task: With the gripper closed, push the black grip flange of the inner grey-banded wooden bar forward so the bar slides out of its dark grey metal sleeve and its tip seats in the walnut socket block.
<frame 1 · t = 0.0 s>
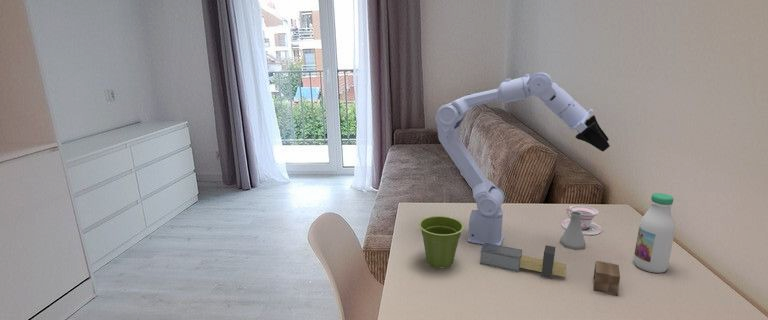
hand: (606, 145, 104), 32 cm above the table, tool tilted 50°, fingers open, 7 cm apart
grey-banded wooden bar: (523, 256, 107), point 4 cm above the table, slide at 0.0 cm
plant pot: (440, 263, 112), on the table
socket: (604, 286, 100), on the table
milk bottle: (649, 266, 109), on the table
teacup: (581, 228, 133), on the table
flask: (572, 244, 122), on the table
sleeve: (507, 266, 110), on the table
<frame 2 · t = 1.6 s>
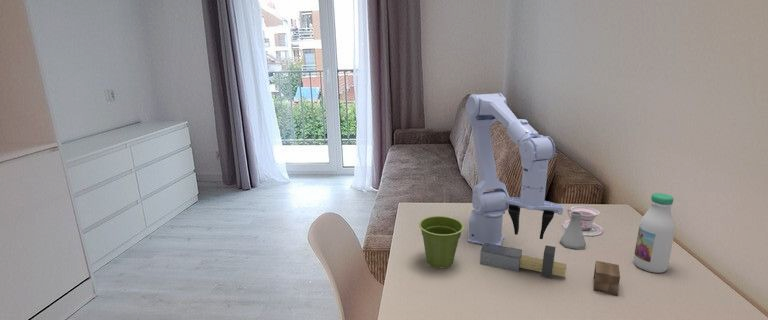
hand: (528, 235, 105), 10 cm above the table, tool pointing down, fingers open, 5 cm apart
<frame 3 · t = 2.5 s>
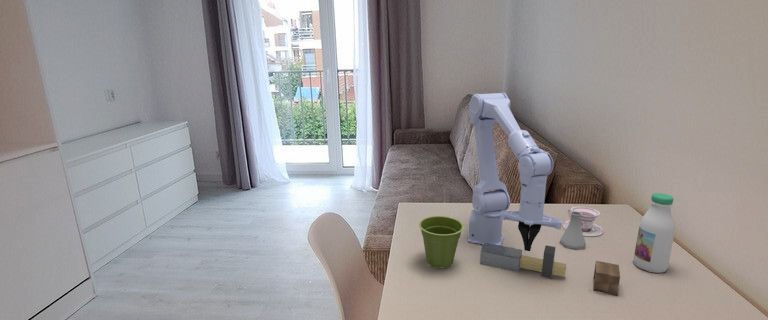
hand: (527, 249, 106), 6 cm above the table, tool pointing down, fingers closed
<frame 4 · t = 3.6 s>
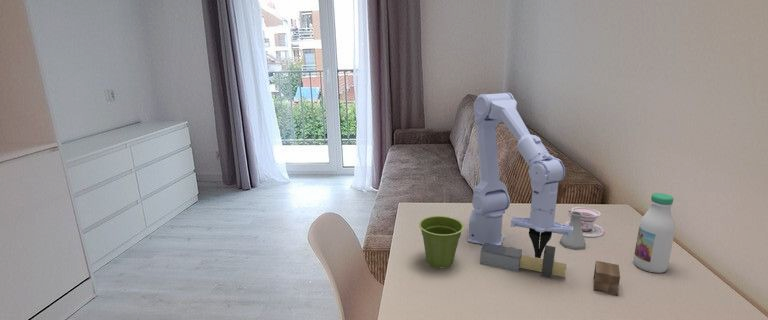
hand: (538, 256, 106), 5 cm above the table, tool pointing down, fingers closed
grey-banded wooden bar: (523, 256, 107), point 4 cm above the table, slide at 0.0 cm, touching gripper
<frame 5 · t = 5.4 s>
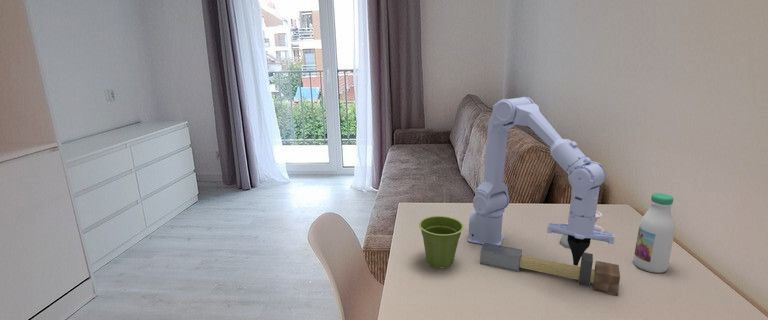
hand: (575, 263, 102), 5 cm above the table, tool pointing down, fingers closed
grey-banded wooden bar: (559, 263, 104), point 4 cm above the table, slide at 8.6 cm, touching gripper
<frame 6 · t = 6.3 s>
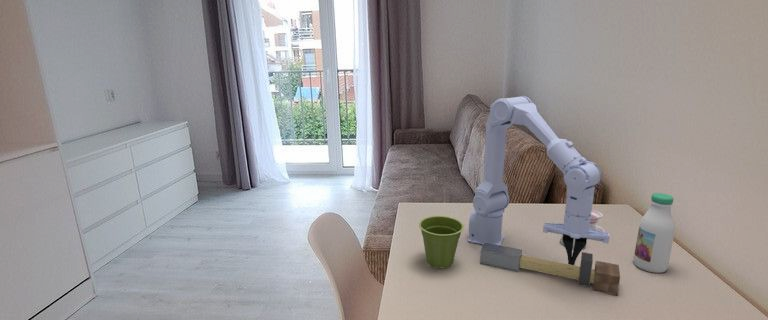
hand: (571, 262, 102), 5 cm above the table, tool pointing down, fingers closed
grey-banded wooden bar: (558, 263, 104), point 4 cm above the table, slide at 8.5 cm
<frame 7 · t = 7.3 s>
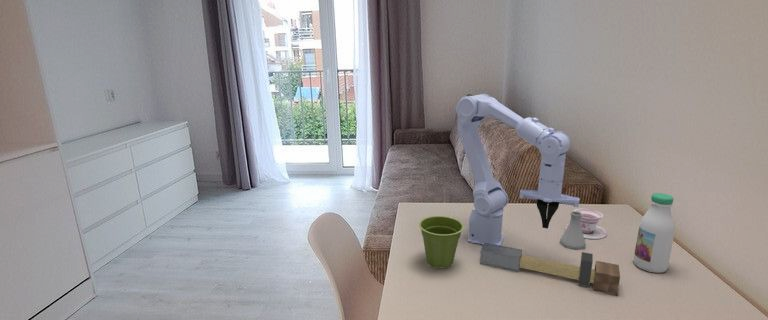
hand: (545, 226, 111), 10 cm above the table, tool pointing down, fingers closed
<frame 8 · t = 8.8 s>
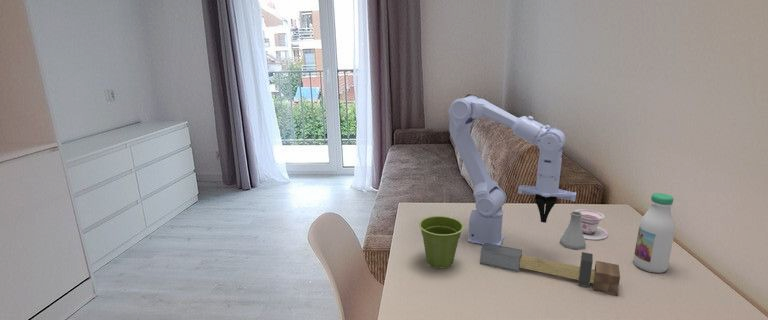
hand: (543, 221, 114), 10 cm above the table, tool pointing down, fingers closed
at the end: grey-banded wooden bar slide at 8.5 cm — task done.
